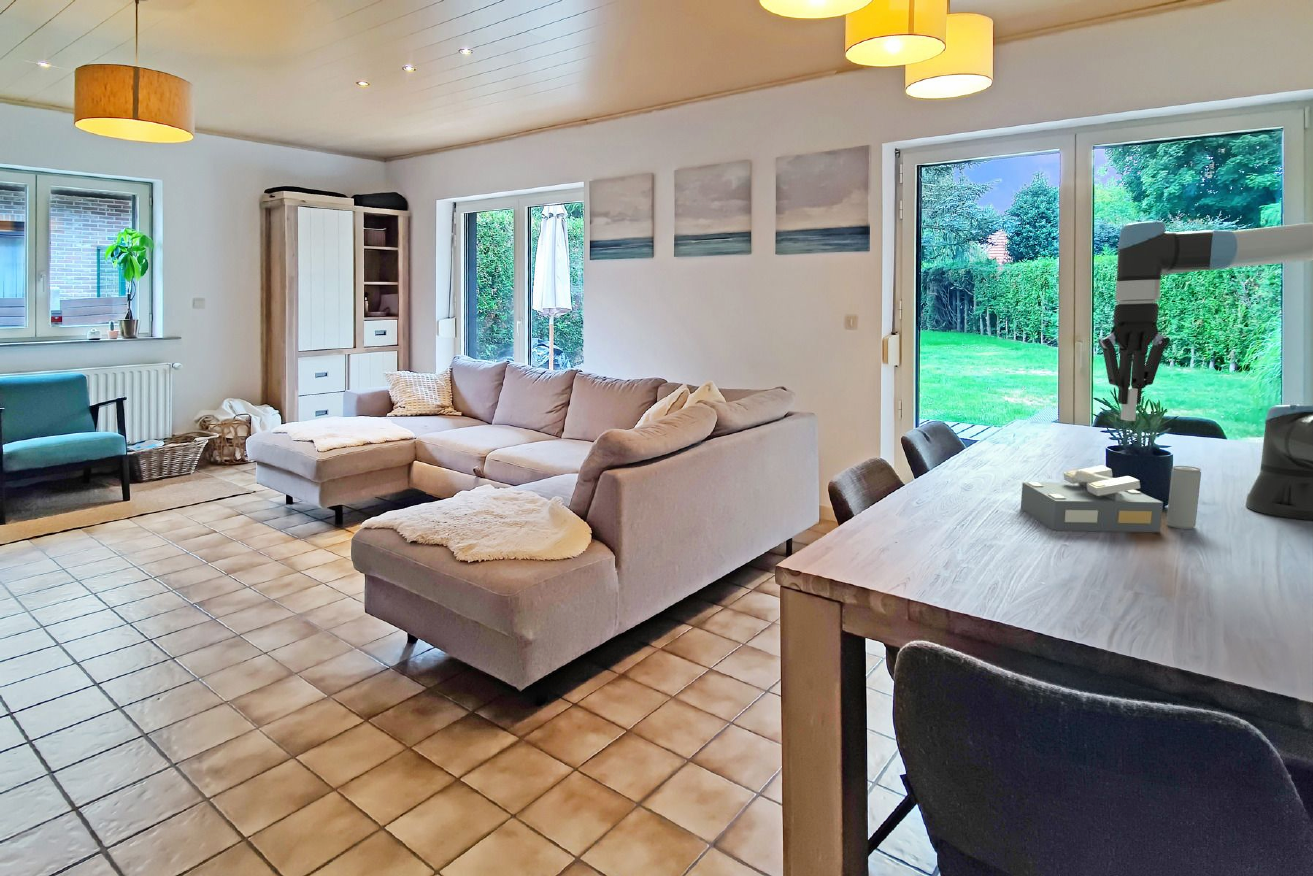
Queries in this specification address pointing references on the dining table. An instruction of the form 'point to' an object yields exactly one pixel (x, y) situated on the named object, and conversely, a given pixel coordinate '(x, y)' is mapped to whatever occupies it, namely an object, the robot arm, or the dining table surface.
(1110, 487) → the plate
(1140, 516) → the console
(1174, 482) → the beverage can
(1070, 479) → the rocker
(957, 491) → the dining table surface
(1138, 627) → the dining table surface
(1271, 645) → the dining table surface
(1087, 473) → the rocker
